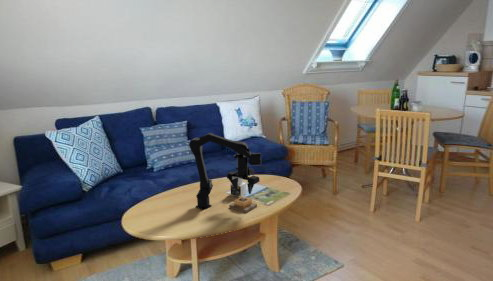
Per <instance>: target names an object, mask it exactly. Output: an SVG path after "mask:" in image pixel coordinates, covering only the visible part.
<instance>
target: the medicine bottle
mask: <svg viewBox="0 0 493 281" xmlns="http://www.w3.org/2000/svg"><path fill="white" fill-rule="evenodd" d="M246 194H247V182H244V179H239V178H238V189H237V191H236V190H235V188H234V187H233V185H232V183H230V196H234V197H238V198H240V197H244V195H246Z"/></svg>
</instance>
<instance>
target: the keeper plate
mask: <svg viewBox="0 0 493 281" xmlns="http://www.w3.org/2000/svg"><path fill="white" fill-rule="evenodd" d="M241 197H242V198H241V201H243V202H244V201H245V198H244V197H245V196H241ZM228 207H229V209H232V210H235V211H239V212H242V213H245V214H247V213H249V212H251V211H252V210H254V209H256V208H257V207H258V204H257V203H254V202H252V204H251V205H249V206H248V207H246V208H242V207H238V206H235V205H234V202H232V203H231V204H230V205H228Z"/></svg>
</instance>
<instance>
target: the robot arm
mask: <svg viewBox="0 0 493 281" xmlns="http://www.w3.org/2000/svg"><path fill="white" fill-rule="evenodd" d="M209 142H210V143H213V144H216V145H219V146H222V147H226V148H228V149H230V150H232V151H233V152H235V154H234V155H233V159H236V168H235V170H236V171H234V170H233V171H230V172H228V173H227V174H226V179H227V180H228V181H229V182H230V184H232V185H233V187H234V188H235V190H236V191H237V189H238V178H239V179H243V181H244V180H245V181H247V183H246V186H247V190H248V191H247V192H248V194H249V195H251V194H252V191H253V188H254V186H255V185H256V184H259V182H260V180H261V179H260V177H259V176H257V175H255V169H253V168H250V166H262V154H261V152H255V153H254V152H252V151H251V150H250V149H249V146H248V144H247V142H245V141H240V140H232V139H229V138H226V137H223V136H220V135H216V134H214V133H212V132H208V133H207V134H204V135H202V136H200V137H194V138H192V140H190V142H189V143H188V146H189V148H190V151H191V153H192V154H193V156H194V159H195V163H196V168H197V172H198V177H199V190H198V192H197V194H196V196H195V197H196V200H197V202H196V203H197V205H195V208H197V209H199V210H200V209H201V210H203V211H204V210H207V209H208V208H210V207H212V204H210V194H211V192H212V189H213V187H214V184H213V180H212V179H210V178H209V177H208V173H207V169H206V164H205V160H204V156H203V145H205V144H207V143H209ZM248 164H249V165H248ZM251 175H252V176H251Z"/></svg>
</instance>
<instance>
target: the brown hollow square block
mask: <svg viewBox="0 0 493 281" xmlns="http://www.w3.org/2000/svg"><path fill="white" fill-rule="evenodd" d="M242 197H244V198H245V201H244V202H243V201H241V198H242ZM233 203H234V205H235V206H238V207H242V208H246V207H248V206H249V205H251V204H252V203H253V199H252V198H250V197H245V196H241V197H238V198H236V199H234V200H233Z"/></svg>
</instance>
